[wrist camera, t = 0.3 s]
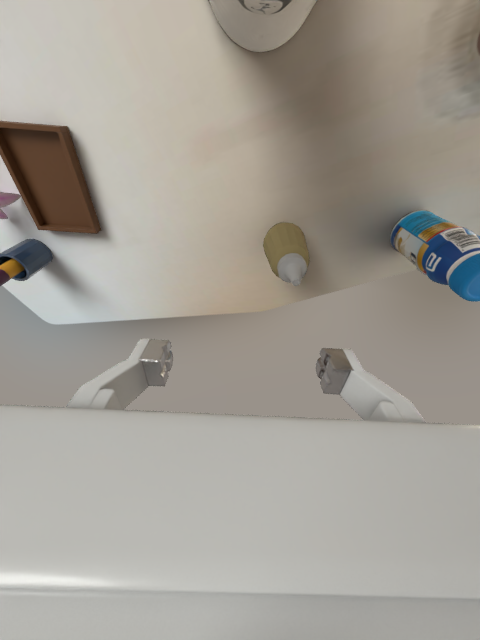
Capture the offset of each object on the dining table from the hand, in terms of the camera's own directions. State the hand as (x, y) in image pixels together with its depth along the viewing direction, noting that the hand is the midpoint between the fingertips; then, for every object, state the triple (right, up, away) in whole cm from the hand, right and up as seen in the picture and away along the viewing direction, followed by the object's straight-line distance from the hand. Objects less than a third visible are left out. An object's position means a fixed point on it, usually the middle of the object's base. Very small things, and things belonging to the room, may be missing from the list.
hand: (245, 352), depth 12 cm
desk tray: (-34, +27, +29) cm, 52 cm away
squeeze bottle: (+8, +19, +35) cm, 41 cm away
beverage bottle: (+34, +20, +34) cm, 53 cm away
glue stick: (-45, +16, +38) cm, 61 cm away
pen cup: (-45, +17, +38) cm, 61 cm away
